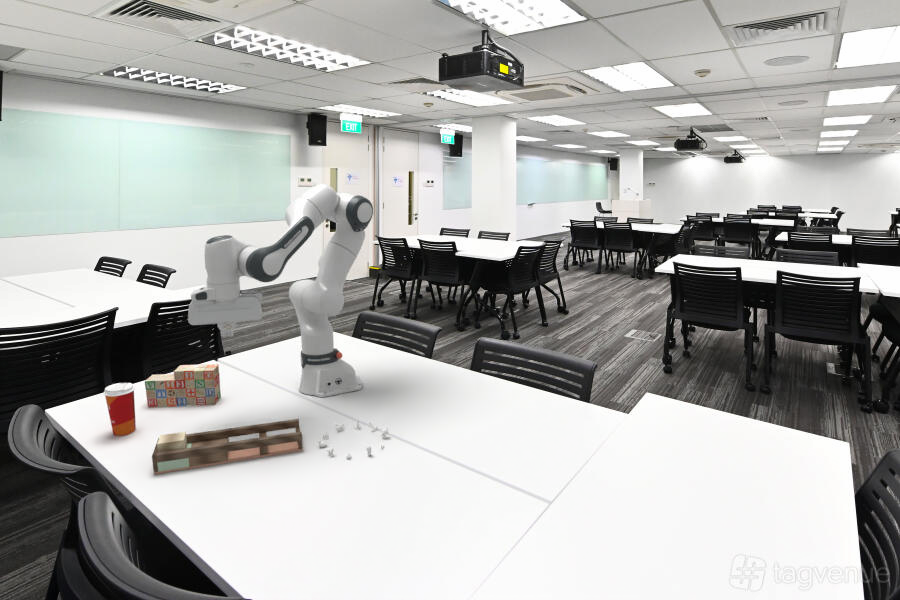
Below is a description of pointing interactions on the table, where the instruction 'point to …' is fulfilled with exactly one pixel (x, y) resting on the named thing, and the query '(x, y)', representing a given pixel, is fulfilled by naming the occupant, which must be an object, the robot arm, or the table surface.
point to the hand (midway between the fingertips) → (228, 336)
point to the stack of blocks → (185, 386)
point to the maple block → (172, 442)
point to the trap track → (229, 446)
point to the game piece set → (385, 431)
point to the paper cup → (121, 408)
